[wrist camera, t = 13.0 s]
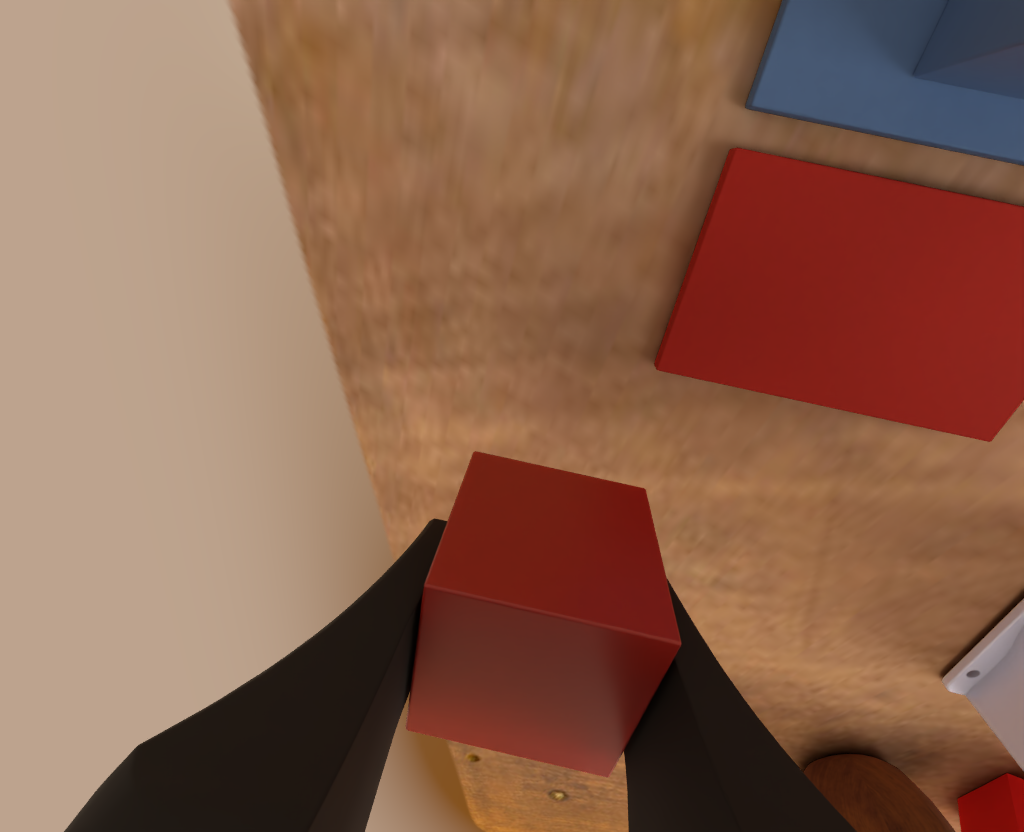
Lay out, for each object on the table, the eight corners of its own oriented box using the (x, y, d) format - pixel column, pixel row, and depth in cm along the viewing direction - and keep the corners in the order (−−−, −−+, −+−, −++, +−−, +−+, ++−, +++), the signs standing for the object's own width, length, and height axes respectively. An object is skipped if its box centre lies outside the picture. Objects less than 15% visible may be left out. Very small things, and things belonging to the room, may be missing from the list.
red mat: (977, 434, 17) (991, 442, 16) (653, 364, 17) (655, 370, 16) (1133, 231, 13) (1156, 233, 13) (729, 148, 14) (735, 146, 13)
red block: (599, 607, 14) (609, 779, 10) (453, 573, 14) (404, 731, 10) (646, 487, 12) (683, 644, 8) (473, 449, 12) (423, 585, 8)
